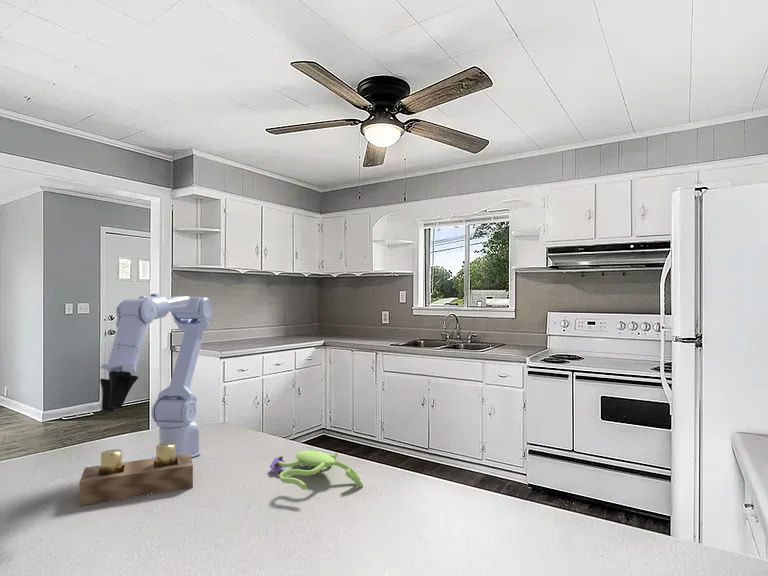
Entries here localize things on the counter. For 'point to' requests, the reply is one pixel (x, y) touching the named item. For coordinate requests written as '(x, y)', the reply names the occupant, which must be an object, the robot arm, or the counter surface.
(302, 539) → the counter surface
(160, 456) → the peg
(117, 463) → the peg
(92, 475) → the block
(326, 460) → the figurine
